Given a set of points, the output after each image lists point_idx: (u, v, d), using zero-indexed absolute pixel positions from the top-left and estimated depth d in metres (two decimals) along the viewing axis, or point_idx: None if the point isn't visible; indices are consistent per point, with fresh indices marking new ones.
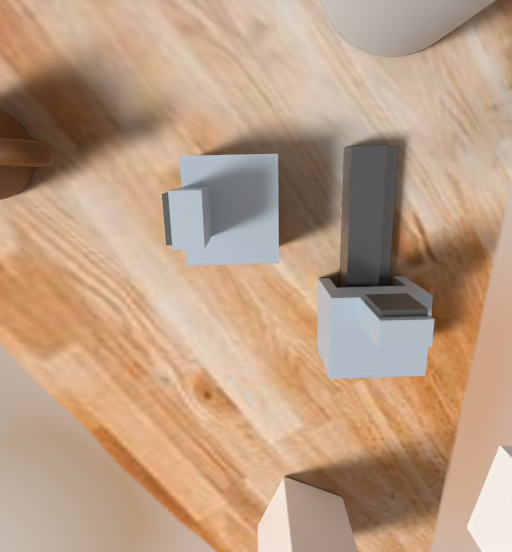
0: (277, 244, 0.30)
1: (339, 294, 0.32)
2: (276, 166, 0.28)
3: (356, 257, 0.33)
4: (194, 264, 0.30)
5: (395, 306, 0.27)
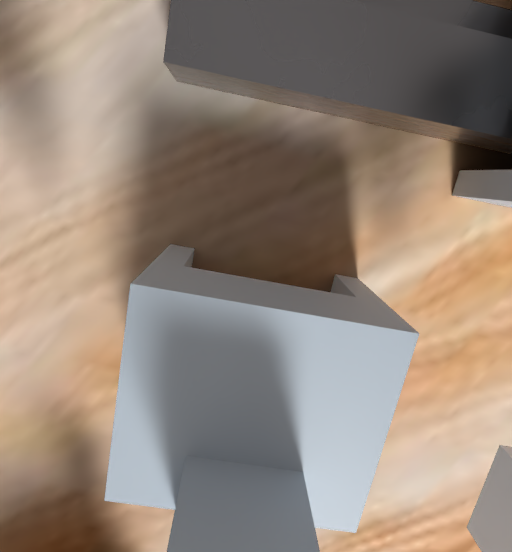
0: (368, 327, 0.11)
1: None
2: (163, 294, 0.10)
3: (449, 98, 0.13)
4: (358, 518, 0.12)
5: None
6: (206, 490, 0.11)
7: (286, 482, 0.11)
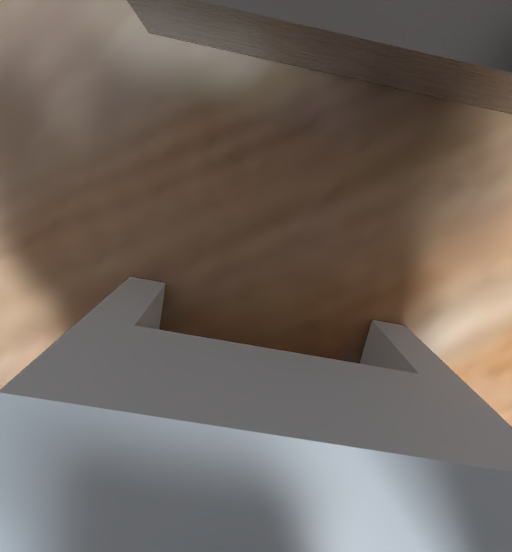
0: (469, 470, 0.06)
1: None
2: (64, 412, 0.05)
3: None
4: None
5: None
6: None
7: None
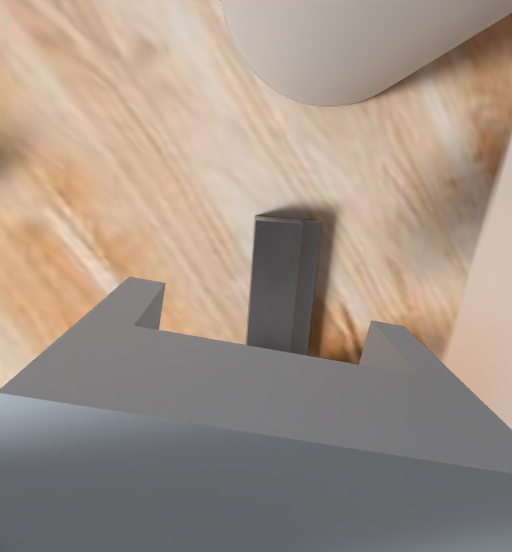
0: (468, 471, 0.06)
1: None
2: (63, 412, 0.05)
3: None
4: None
5: None
6: None
7: None
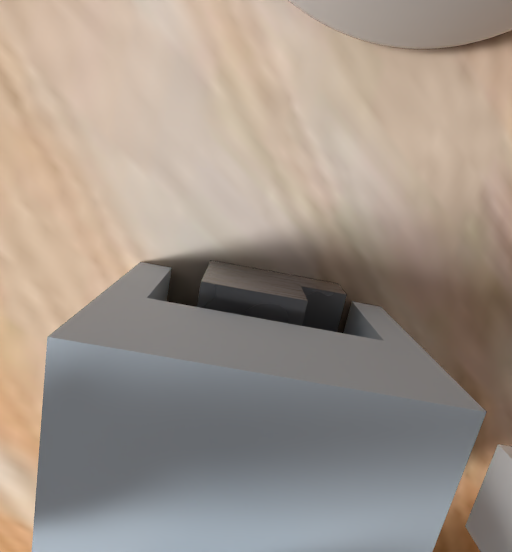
0: (409, 403, 0.07)
1: None
2: (97, 352, 0.07)
3: None
4: None
5: None
6: None
7: None
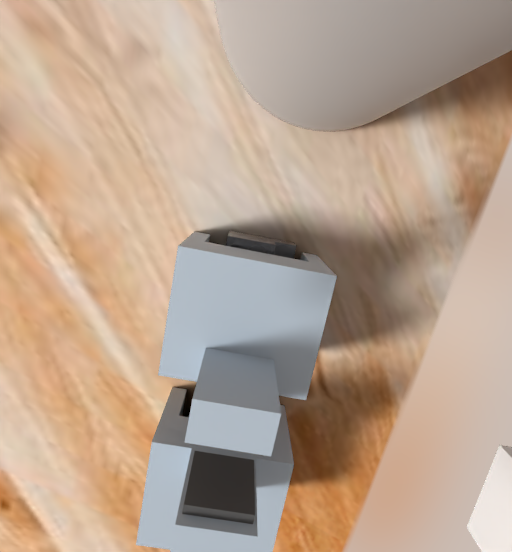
0: (308, 272, 0.20)
1: (169, 434, 0.22)
2: (195, 251, 0.19)
3: None
4: (306, 390, 0.21)
5: (213, 496, 0.18)
6: (217, 360, 0.19)
7: (263, 362, 0.20)
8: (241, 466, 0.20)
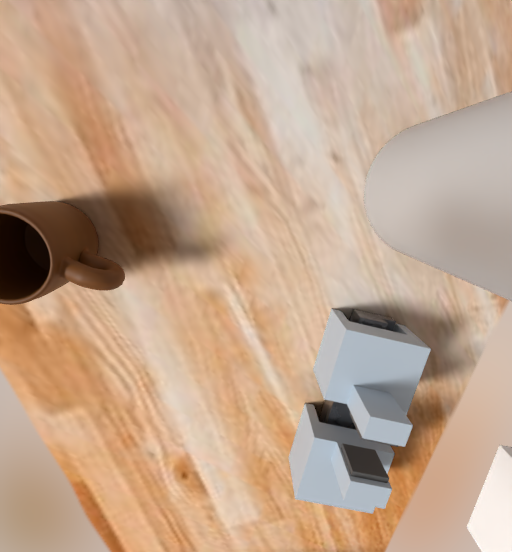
0: (415, 346, 0.35)
1: (320, 433, 0.38)
2: (355, 333, 0.35)
3: None
4: (407, 411, 0.37)
5: (364, 467, 0.34)
6: (364, 393, 0.35)
7: (386, 394, 0.36)
8: (370, 453, 0.36)
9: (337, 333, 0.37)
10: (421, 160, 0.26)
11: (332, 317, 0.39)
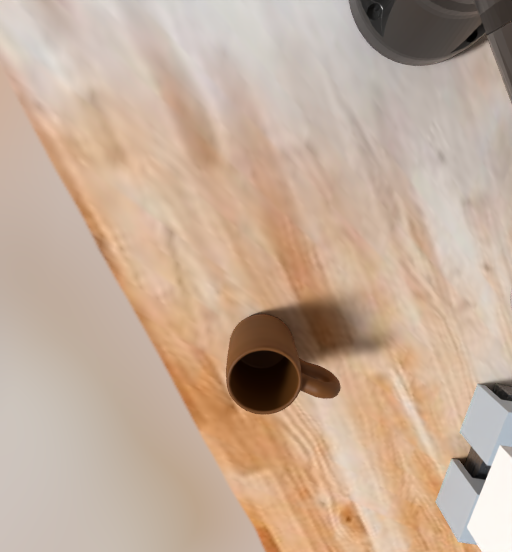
0: None
1: (479, 489, 0.47)
2: None
3: None
4: None
5: None
6: None
7: None
8: None
9: (494, 411, 0.45)
10: None
11: (481, 393, 0.48)
